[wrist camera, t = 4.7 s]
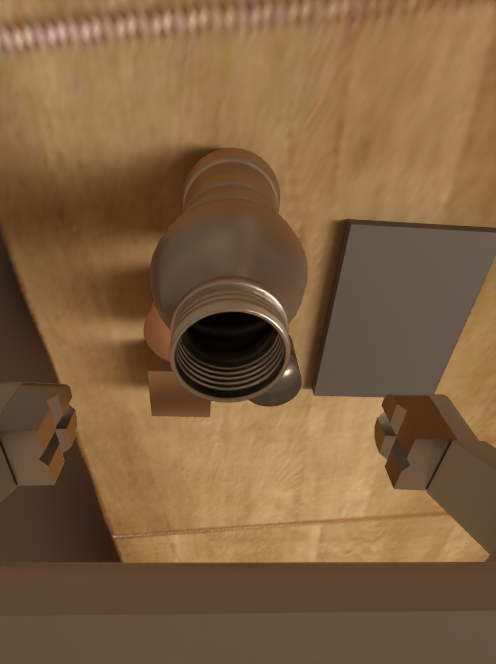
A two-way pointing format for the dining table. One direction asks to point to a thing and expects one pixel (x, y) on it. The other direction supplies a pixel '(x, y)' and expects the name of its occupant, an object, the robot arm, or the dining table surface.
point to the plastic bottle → (229, 279)
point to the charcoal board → (399, 306)
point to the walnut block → (172, 393)
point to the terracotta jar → (157, 334)
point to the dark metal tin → (283, 385)
